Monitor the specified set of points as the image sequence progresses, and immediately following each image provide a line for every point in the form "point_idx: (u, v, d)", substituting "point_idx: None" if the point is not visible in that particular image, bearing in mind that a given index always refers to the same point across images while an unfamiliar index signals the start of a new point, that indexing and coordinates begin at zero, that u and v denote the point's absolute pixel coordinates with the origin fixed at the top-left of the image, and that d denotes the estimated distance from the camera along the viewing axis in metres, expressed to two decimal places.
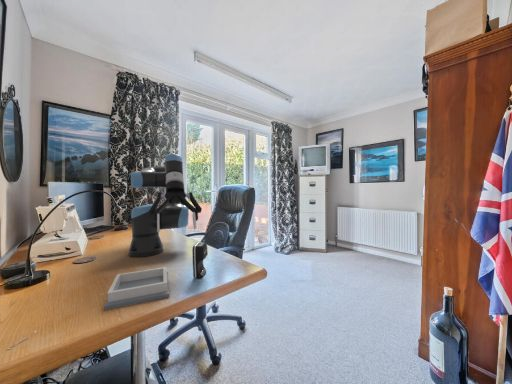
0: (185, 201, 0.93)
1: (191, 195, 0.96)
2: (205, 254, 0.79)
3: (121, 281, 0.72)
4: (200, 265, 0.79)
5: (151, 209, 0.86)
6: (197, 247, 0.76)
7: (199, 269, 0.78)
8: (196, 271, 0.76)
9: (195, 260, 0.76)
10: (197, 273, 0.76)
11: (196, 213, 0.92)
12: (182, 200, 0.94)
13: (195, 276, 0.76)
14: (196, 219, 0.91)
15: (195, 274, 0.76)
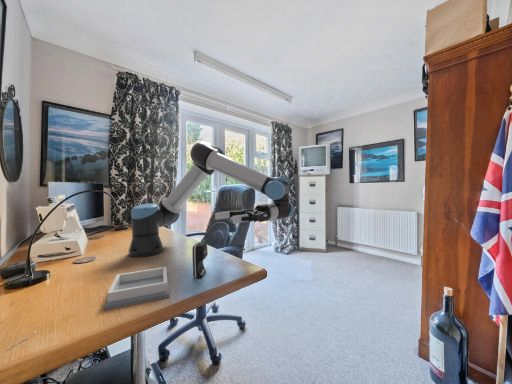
0: None
1: None
2: (205, 254, 0.79)
3: (121, 281, 0.72)
4: (200, 265, 0.79)
5: None
6: (197, 247, 0.76)
7: (199, 269, 0.78)
8: (196, 271, 0.76)
9: (195, 260, 0.76)
10: (197, 273, 0.76)
11: None
12: (246, 214, 0.95)
13: (195, 276, 0.76)
14: None
15: (195, 274, 0.76)
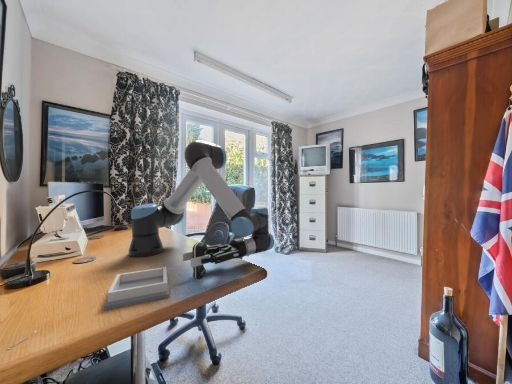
0: None
1: None
2: (205, 254, 0.79)
3: (121, 281, 0.72)
4: (200, 265, 0.79)
5: None
6: (197, 247, 0.76)
7: (199, 269, 0.78)
8: (196, 271, 0.76)
9: None
10: (197, 273, 0.76)
11: None
12: (220, 251, 0.86)
13: (195, 276, 0.76)
14: None
15: (195, 274, 0.76)
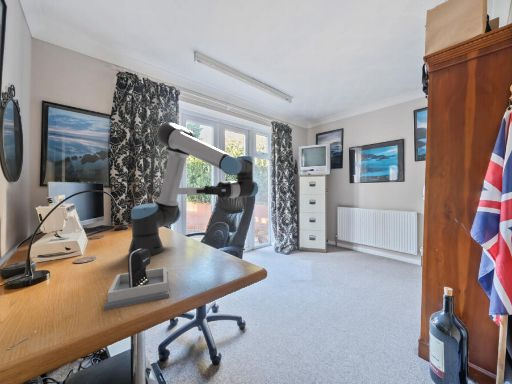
0: None
1: None
2: (145, 263, 0.68)
3: (121, 281, 0.72)
4: (140, 275, 0.69)
5: (211, 194, 0.85)
6: (133, 255, 0.66)
7: (137, 280, 0.67)
8: (132, 283, 0.66)
9: (131, 269, 0.65)
10: (133, 285, 0.66)
11: None
12: None
13: None
14: None
15: (131, 287, 0.66)
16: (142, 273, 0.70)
